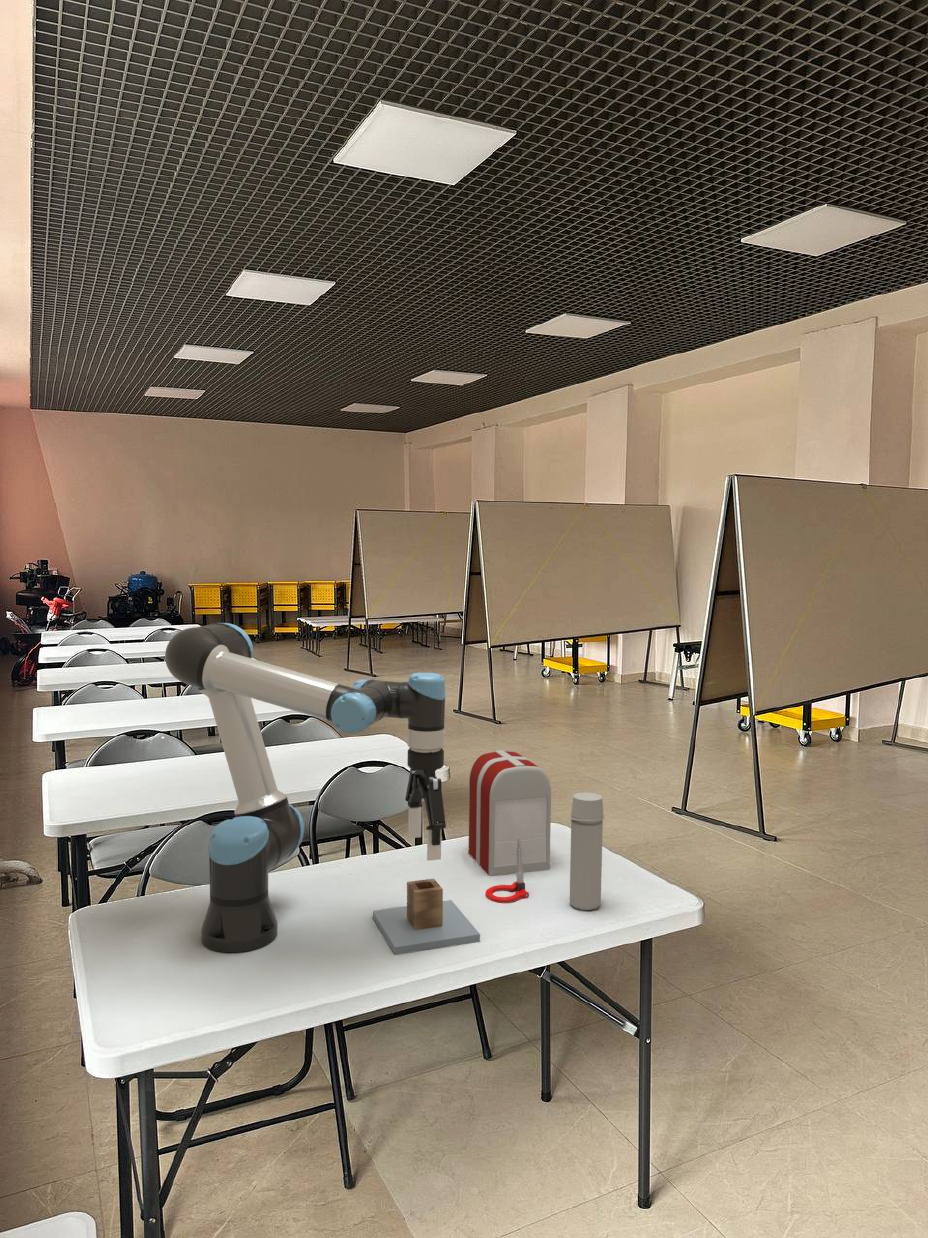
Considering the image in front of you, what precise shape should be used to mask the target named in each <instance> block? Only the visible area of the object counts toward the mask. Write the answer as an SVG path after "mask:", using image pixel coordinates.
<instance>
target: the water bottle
mask: <svg viewBox="0 0 928 1238" xmlns="http://www.w3.org/2000/svg"><path fill="white" fill-rule="evenodd" d="M572 796H573V797H572V807H571V814H569V815H568V818H569V819H570V820H571V821H570V862H569V863H570V866H569V867H570V869H569V905H571V906H572V907H573V908H574V909H578V910H581V911H591V910H596V909H598V908H600V906H601V903H602V876H603V875H602V872H603V871H602V869H603V830H604V827H603V826H604V825H603V824H604V822H603V820H604V819H605V816H604V804H603V802H604V801H603V796H602V795H601V794H598V793H595V792H584V791H583V792H577V793H574V794H573V795H572Z"/></svg>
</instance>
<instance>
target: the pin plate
mask: <svg viewBox="0 0 928 1238" xmlns="http://www.w3.org/2000/svg"><path fill="white" fill-rule="evenodd" d="M372 919H373V921H374V922H375V924H376V925H377V927H378V929H379V930H380V933H382V935H383V937H384V939H385V941H386V942H387V944H388V945H389V947H390V949H391V951H392V952H393V954H394V955H400V954H406V953H413V952H420V951H426V950H433V949H439V948H446V947H451V946H458V945H463V944H471V943H478V942H481V933H479V931H478V930H477V929H476V928H475V926H474V925H473V924H472V922H471V921H470V920H469V919H468V918H467V917H466V916H465V915H464V913H463V912H462V911H461V910H460V909H459V907H458V906H457V905H456V903H454V901H453V900H452V899H449V900H443V926H441V927H434V928H427V929H420V930H414V928H413V927H412V925H411V924H410V922H409V921H408V919H407V905H405V906H398V907H391V908H383V909H378V910H377V909H376V910H372Z"/></svg>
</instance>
